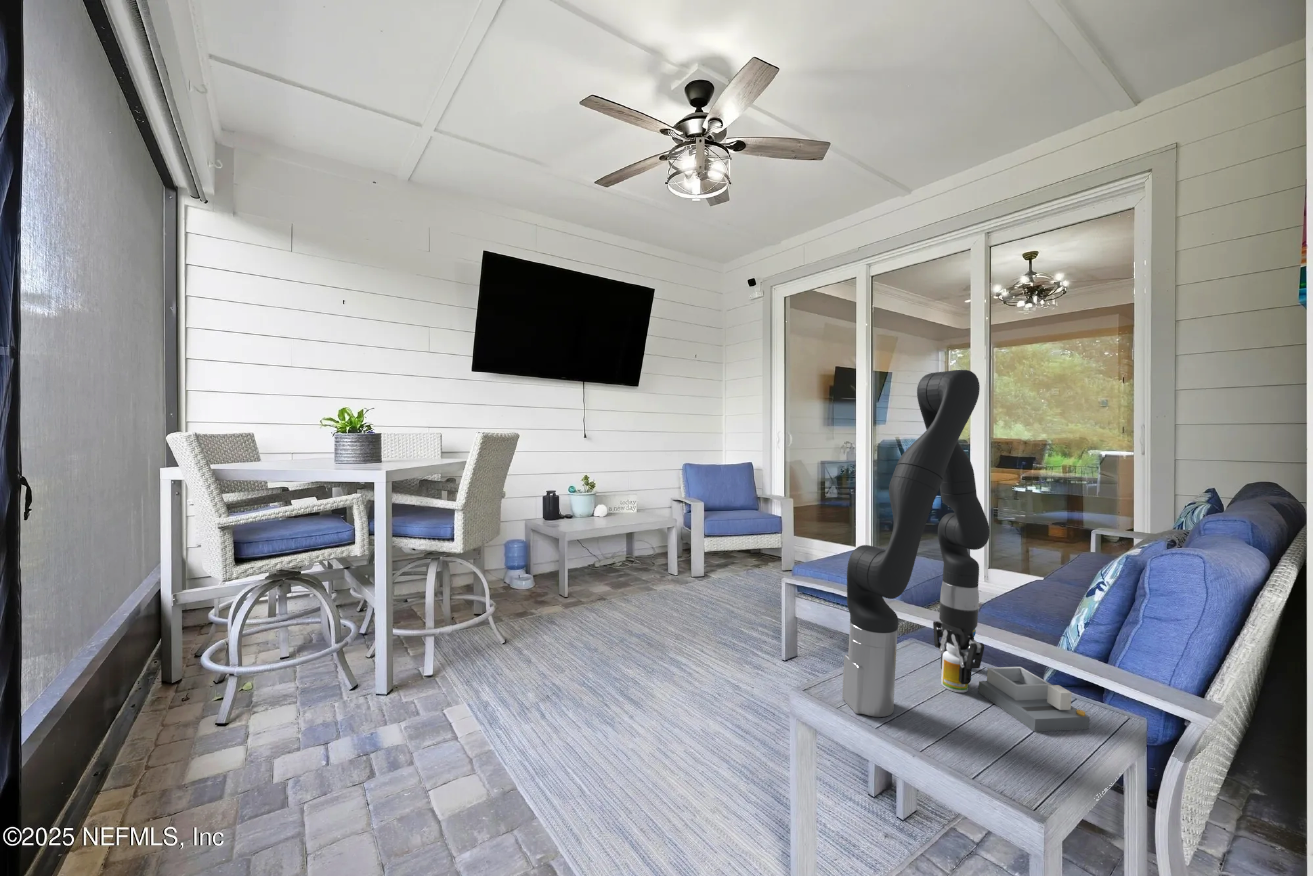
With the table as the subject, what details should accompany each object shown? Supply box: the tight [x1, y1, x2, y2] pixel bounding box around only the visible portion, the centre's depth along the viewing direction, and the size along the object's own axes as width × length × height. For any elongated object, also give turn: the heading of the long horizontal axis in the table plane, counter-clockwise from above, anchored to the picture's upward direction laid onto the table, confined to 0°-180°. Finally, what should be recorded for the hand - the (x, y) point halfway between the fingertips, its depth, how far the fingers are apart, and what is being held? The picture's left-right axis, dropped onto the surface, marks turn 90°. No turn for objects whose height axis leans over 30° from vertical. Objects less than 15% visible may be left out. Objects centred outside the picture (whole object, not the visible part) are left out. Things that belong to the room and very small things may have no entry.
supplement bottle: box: [940, 642, 969, 693], centre depth 121 cm, size 5×5×10 cm
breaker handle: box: [1047, 684, 1073, 710], centre depth 109 cm, size 2×3×4 cm
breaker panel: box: [978, 666, 1090, 733], centre depth 112 cm, size 12×15×6 cm
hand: (954, 676), depth 121 cm, fingers closed on supplement bottle, 5 cm apart
